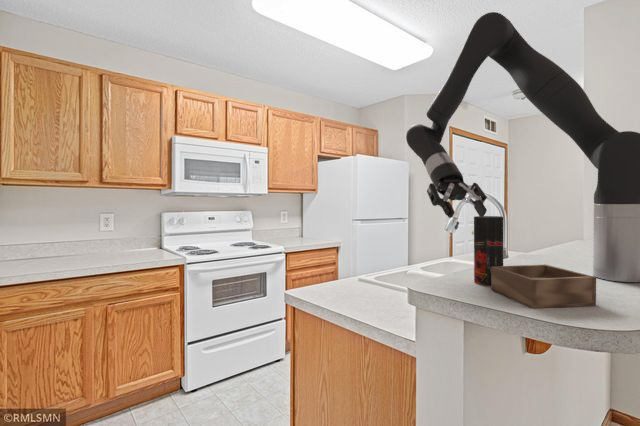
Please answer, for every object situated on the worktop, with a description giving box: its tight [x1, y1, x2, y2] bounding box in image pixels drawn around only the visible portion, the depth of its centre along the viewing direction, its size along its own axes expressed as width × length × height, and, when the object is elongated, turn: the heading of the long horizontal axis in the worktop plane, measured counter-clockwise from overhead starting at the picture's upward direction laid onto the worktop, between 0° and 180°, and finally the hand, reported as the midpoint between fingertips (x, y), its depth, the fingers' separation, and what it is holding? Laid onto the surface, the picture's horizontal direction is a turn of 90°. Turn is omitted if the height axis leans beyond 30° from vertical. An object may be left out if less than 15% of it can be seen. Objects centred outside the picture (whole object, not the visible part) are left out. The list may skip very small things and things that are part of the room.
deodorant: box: [473, 215, 504, 287], centre depth 77 cm, size 6×6×15 cm
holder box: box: [490, 263, 597, 309], centre depth 66 cm, size 12×12×5 cm
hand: (467, 214), depth 85 cm, fingers open, 8 cm apart
